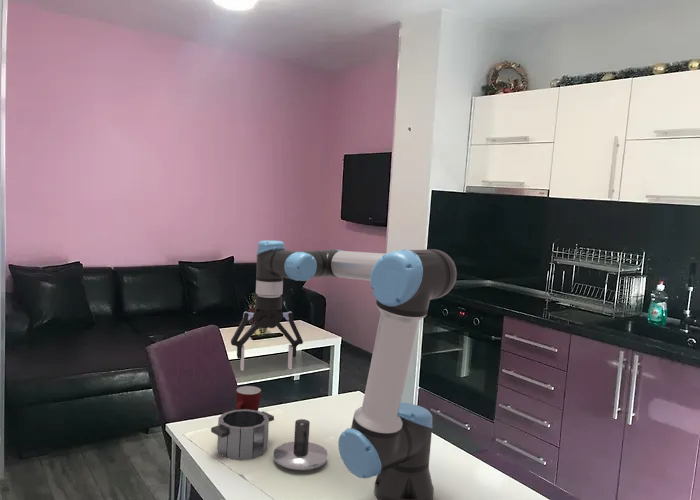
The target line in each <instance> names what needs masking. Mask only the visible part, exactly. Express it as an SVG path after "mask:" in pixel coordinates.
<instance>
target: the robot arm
mask: <svg viewBox="0 0 700 500" xmlns="http://www.w3.org/2000/svg"><path fill="white" fill-rule="evenodd" d="M256 250H257V251H256V272H255V273H256V276H255V277H256V280H255V293H256V296H255V298H254V299H255V302H254V303H255V304H254V311H253V312H248V311H247V310H245V311H244V312H243V314H242V319H241V320H240V323H239V325H238V326H237V328H236V330H235V332H234V333H233V336H232V338H231V339H230V344H231V345H232V346H235V347H236V357H237V359H240V366H239V367H240V371H242V372H244V370H245V343H246V342H247V341H248V340H249V339H250V338H251V337H252V336H253V335H254V334H255V332H257V331H258V330H259V329H260V328H262V329H268V328H269V329H274V328H276V327H277V329H278V330H279V331H280V332H281V334H282V335H283V336H284V337H285V338H286V339H287V340H288V342H289V343H290V344H288V354H287V355H288V356H287V368H288V370H293V358H296V356H297V347H298V346H299V345H303V343H304V341H303V339H302V337H301V334H300V332H299V330H298V328H297V325H296V323H295V321H294V314H293V312H292V311H290V310H288V311H287V312H283V297H282V295H283V290H284V289H283V288H284V278H285V279H290V280H294V281H296V282H299V281H300V282H306V281H307V282H308V281H310V280H312V278H320V277H321V278H325V277H327V278H329V277H331V278H337V279H338V278H342V279H348V280H349V279H350V280H360V281H369V282H370V283H369V285H370V288H371V289H372V292H371V293H372V294H373V297H374V298H375V299H376V301H375V306H376V308H377V309H378V310H379V313H380V316H379V321H378V325H377V330H376V335H375V339H374V340H375V341H374V346H373V349H372V354H371V355H372V356H371V362H370V365H369V371H368V375H367V379H366V380H367V381H366V385H365V391H364V395H363V401H362V406H360V407H358V408H357V409H355V411H354V413H353V417H352V421H351V422H352V423H351V426H350V428H346V429H345V430H344V431H342V433H340V435H339V438H338V452H339V453H338V454H339V455H340V459H341V460H342V462H343V464H344V466H345V467H346V469H347V470H348V471H349V472H350V473H351V474H353V475H354V476H356V477H357V478H360V479H369V478H372V477H376V478H375V481H374V486H373V487H374V489H373V492H374V496H375V497H376V498H377V500H434V494H435V493H434V492H435V490H434V485H433V480H432V477H431V471H430V457H431V456H430V455H431V444H432V435H433V434H432V433H433V432H432V431H433V429H434V428H433V427H434V426H433V415H432V413H431V411H430V410H428V409H427V408H426V407H422V406H421V405H418V404H417V405H416V404H413V403H408V402H403V401H402V398H403V394H404V388H405V383H406V380H407V376H408V370H409V366H410V360H411V357H412V352H413V347H414V342H415V337H416V334H417V329H418V324H419V321H420V320H422V319H424V318H425V317H426V316H428V310H429V305H430V302H431V300H436V299H440V298H442V297H444V296H446V295H447V294H448V293H450V291H452V289H453V288H454V286H455V284H456V281H457V275H458V274H457V267H456V264H455V262H454V260H453V259H452V258H451V256H450V255H448V254H447V253H446V252H444V251H441V250H440V249H434V248H433V249H432V248H429V249H428V248H427V249H399V250H395V251H391V252H385V253H383V252H366V251H365V252H364V251H350V250H341V249H324V250H321V249H320V250H286V248H285V242H283V241H281V240H268V239H267V240H260V241H258V243H257V249H256ZM252 318H253V319H254V320H255V322H253V324H252V325H251V327H250V328H248V330H247V331H246V332H245V333H244V334H243V335H242V336H241V334H242V332H243V331H244V329H245V327H246V325H247V323H248V321H251V319H252ZM283 318H285V320H286V321H287V322H288V323H289V326H290V328H291V329H292V332H293V333H294V336H295V339H294V338H293V337H292V336H291V334H290V333H289V332H288V330H287V329H286V328H285V327H284V326H283V325H282V323H281V321H282V320H283ZM240 337H241V338H240Z"/></svg>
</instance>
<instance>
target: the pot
mask: <svg viewBox="0 0 700 500" xmlns="http://www.w3.org/2000/svg"><path fill="white" fill-rule="evenodd" d="M217 420H218V421H217V422H218V423H217V425H215V426H213V427H211V428H210V432H211V433H212V434H214V435H216V436H217V441H216V442H217V443H216V445H217V447H216V448H217V453H218V455H220V454H221V455H220V456H222V455H223V456H222V457H224V458H225V457H226V458H225V459H228V458H230V460H234V459H235V461H245V460H254V459H256V458H258V457H262V456H263V455H264V454H266V452H267V451H268V444H269V429H270V428H269V427H270V426H269V424H270V423H269V422H272V421H275V415H272V414H270V413H268V412H266V411H259V410H258V411H255V410H248V409H247V410H246V409H243V410H236V409H233V410H229V411H226V412H223V413H222V414H221V415H220V416H219V417H218V419H217Z"/></svg>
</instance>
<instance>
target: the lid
mask: <svg viewBox="0 0 700 500" xmlns="http://www.w3.org/2000/svg"><path fill="white" fill-rule="evenodd" d="M310 424H311V423H310V420H309V419H305V418H304V419H302V418H301V419H296V421H294V437H293V440H294V441H289V442H284V443H281V444H280V445H278V446H276V448H275V449H274V450H273V460H274V462H275V463H276V464H277V465H279V466H281V467H283V468H286V469H289V470H293V471H311V470H314V469H318V468H320V467H323V465H325V464H326V463H327V462H328V451H327V450H326V449H325V447H323V446H322V445H319V444H317V443H313V442H310V440H309V439H310Z"/></svg>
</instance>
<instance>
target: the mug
mask: <svg viewBox="0 0 700 500" xmlns="http://www.w3.org/2000/svg"><path fill="white" fill-rule="evenodd" d="M261 399H262V390H261V388H260V387H257V386H253V385H252V386H251V385H244V386H240V387H237V388H236V390H235V402H236V406H235V410H243V409H246V410H247V409H248V410H255V411H259V408H260V404H261Z"/></svg>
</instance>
